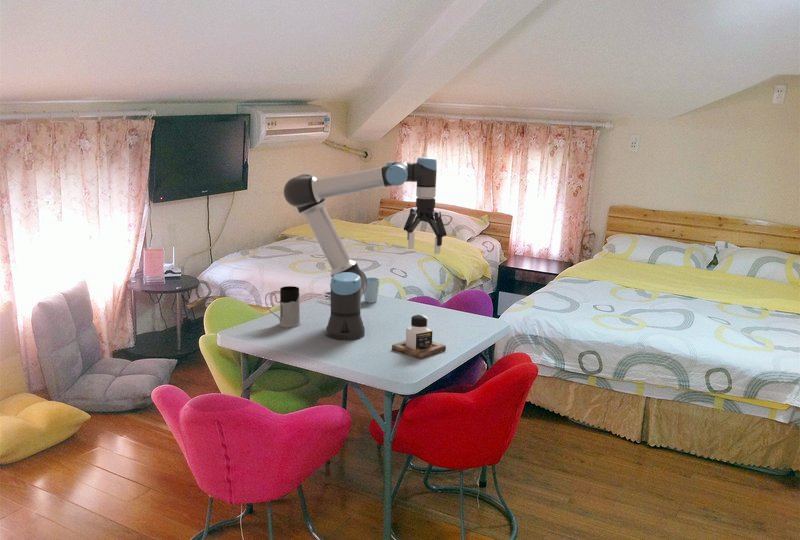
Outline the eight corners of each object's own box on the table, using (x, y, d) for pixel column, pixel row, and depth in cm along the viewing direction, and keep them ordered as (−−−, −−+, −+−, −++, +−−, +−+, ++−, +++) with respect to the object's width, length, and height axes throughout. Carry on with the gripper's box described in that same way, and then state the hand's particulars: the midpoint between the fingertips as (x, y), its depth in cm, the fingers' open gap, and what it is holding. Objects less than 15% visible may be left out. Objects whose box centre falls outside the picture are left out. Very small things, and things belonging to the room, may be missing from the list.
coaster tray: (391, 349, 257) (392, 344, 257) (417, 341, 268) (417, 336, 267) (420, 359, 248) (420, 354, 248) (445, 350, 258) (445, 345, 258)
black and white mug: (302, 326, 282) (302, 290, 279) (267, 329, 277) (266, 292, 274) (298, 320, 290) (298, 285, 287) (263, 323, 285) (263, 287, 282)
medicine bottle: (415, 351, 253) (416, 319, 251) (405, 346, 259) (406, 314, 256) (432, 348, 257) (433, 317, 254) (421, 343, 263) (422, 312, 260)
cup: (378, 303, 319) (379, 281, 316) (361, 303, 319) (362, 281, 317) (379, 299, 326) (379, 277, 324) (363, 299, 326) (363, 277, 324)
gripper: (457, 200, 267) (454, 254, 272) (408, 193, 284) (406, 245, 288) (444, 201, 262) (442, 257, 266) (395, 195, 278) (394, 247, 283)
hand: (423, 251), depth 277 cm, fingers open, 13 cm apart
